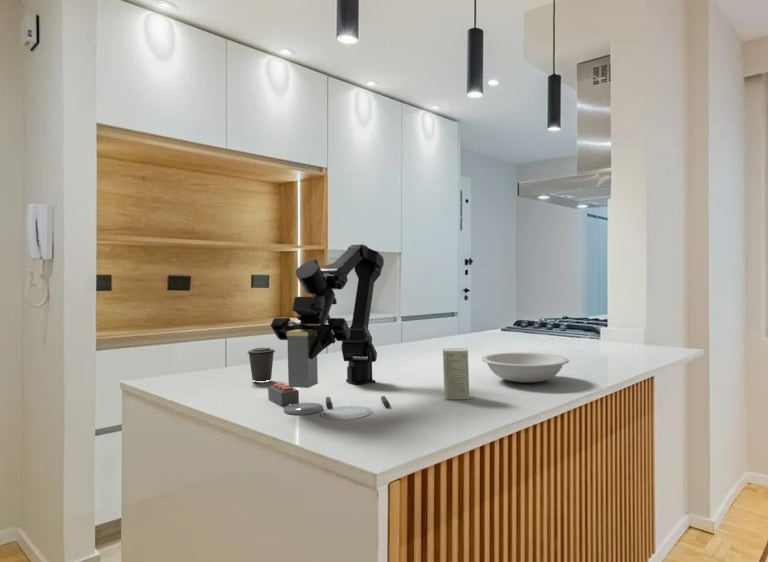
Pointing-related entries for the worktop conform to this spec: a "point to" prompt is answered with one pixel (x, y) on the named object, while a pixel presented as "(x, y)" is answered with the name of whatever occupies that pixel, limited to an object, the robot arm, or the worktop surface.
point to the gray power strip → (283, 394)
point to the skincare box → (456, 373)
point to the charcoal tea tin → (301, 358)
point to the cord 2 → (385, 401)
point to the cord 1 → (328, 402)
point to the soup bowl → (525, 366)
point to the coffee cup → (261, 363)
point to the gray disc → (303, 408)
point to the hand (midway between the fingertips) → (300, 357)
